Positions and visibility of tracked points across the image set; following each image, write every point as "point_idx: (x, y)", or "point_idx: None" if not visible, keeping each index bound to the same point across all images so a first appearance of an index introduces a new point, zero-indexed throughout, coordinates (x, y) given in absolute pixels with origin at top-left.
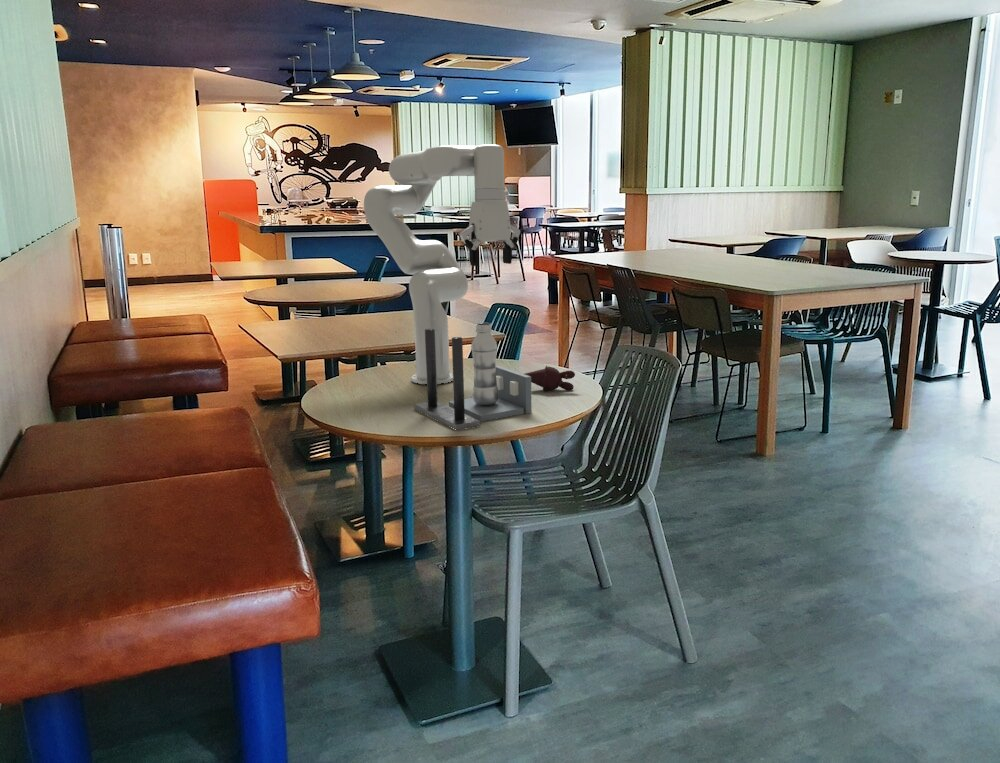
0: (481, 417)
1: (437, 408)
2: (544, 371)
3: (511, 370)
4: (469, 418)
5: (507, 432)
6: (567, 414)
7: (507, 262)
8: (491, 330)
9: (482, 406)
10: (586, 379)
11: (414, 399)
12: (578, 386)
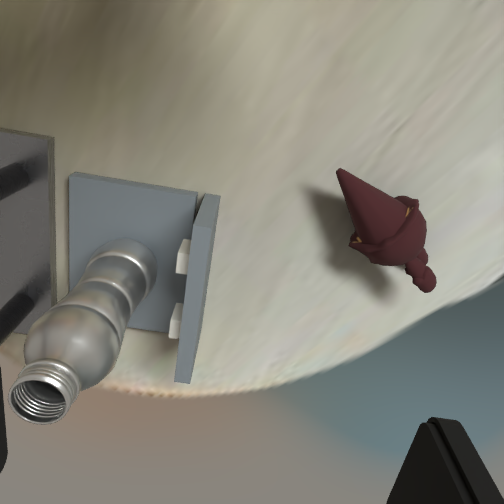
0: None
1: (15, 206)
2: (375, 242)
3: (196, 307)
4: (41, 315)
5: None
6: (247, 379)
7: (395, 494)
8: (73, 401)
9: None
10: None
11: (30, 24)
12: (462, 244)
